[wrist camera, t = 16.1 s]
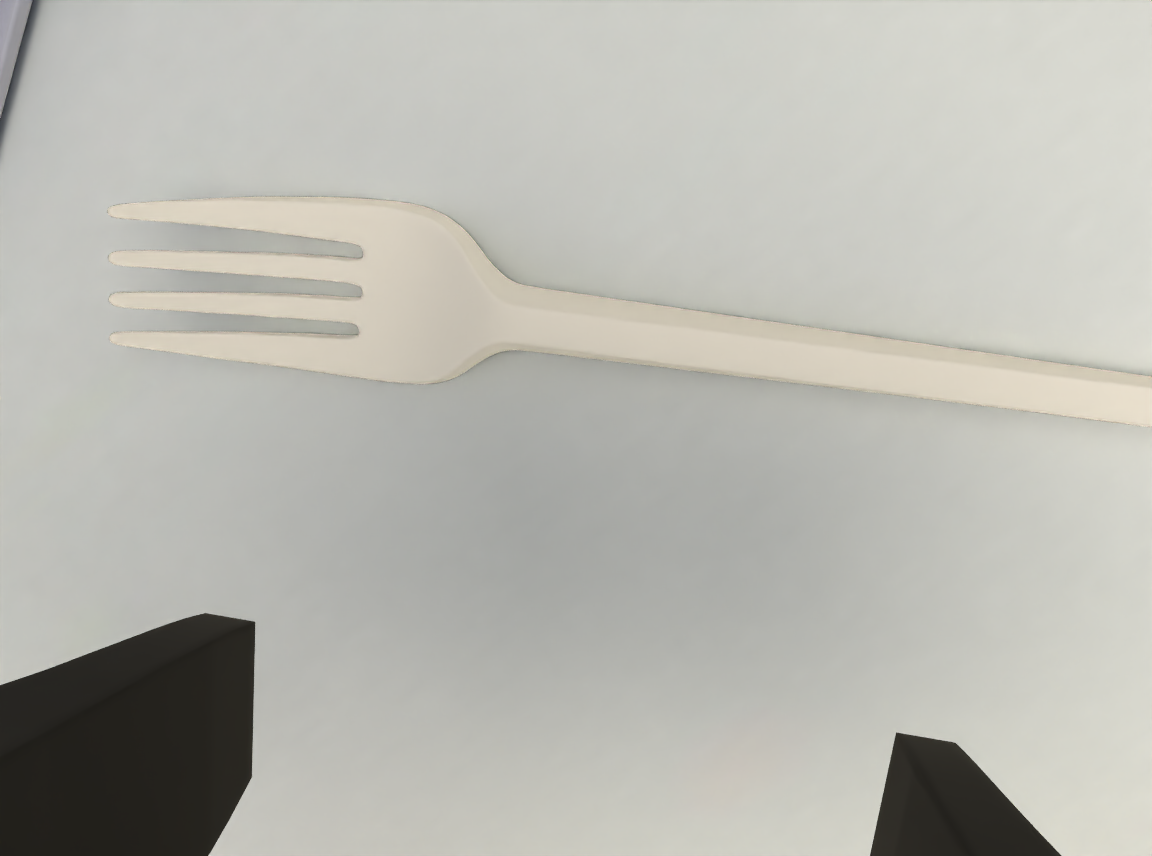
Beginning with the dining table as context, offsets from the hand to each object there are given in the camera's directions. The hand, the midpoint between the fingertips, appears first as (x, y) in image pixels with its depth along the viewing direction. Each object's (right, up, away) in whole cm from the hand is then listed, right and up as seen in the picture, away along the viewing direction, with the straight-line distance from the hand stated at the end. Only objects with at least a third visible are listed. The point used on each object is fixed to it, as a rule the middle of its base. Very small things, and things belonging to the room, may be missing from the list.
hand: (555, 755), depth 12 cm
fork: (+2, +5, +7) cm, 9 cm away
